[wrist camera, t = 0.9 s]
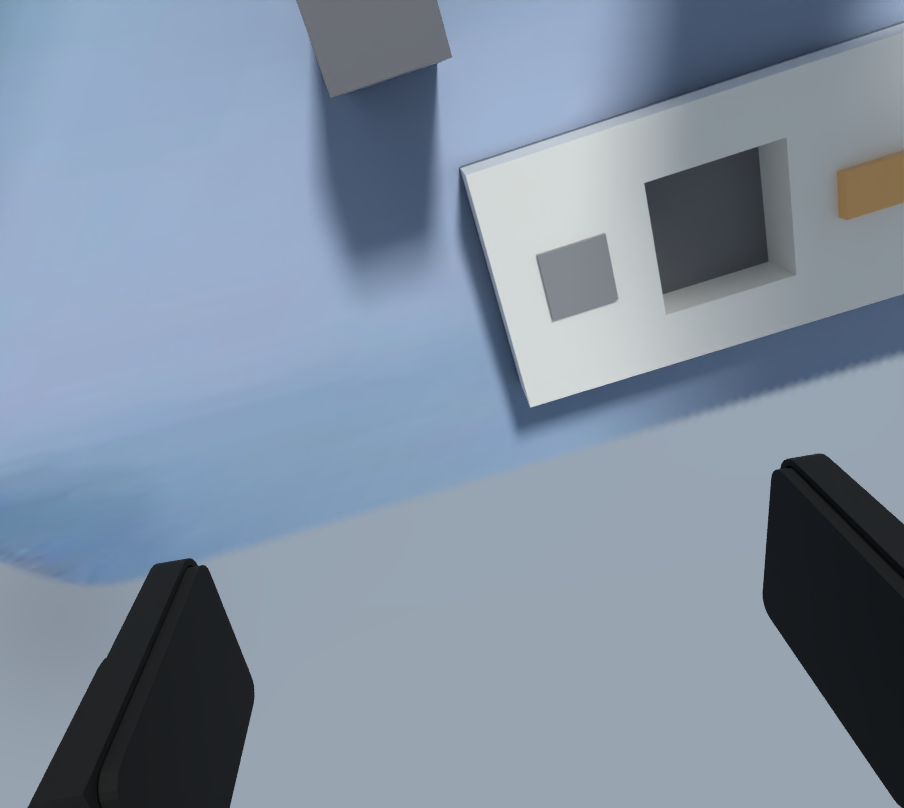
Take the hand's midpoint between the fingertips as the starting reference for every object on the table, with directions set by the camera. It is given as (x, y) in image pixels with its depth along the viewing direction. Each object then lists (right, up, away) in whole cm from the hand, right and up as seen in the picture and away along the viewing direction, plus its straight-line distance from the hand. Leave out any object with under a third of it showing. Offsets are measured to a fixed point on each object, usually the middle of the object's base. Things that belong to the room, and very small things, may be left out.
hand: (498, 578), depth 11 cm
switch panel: (+11, +12, +21) cm, 26 cm away
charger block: (-4, +18, +16) cm, 25 cm away
